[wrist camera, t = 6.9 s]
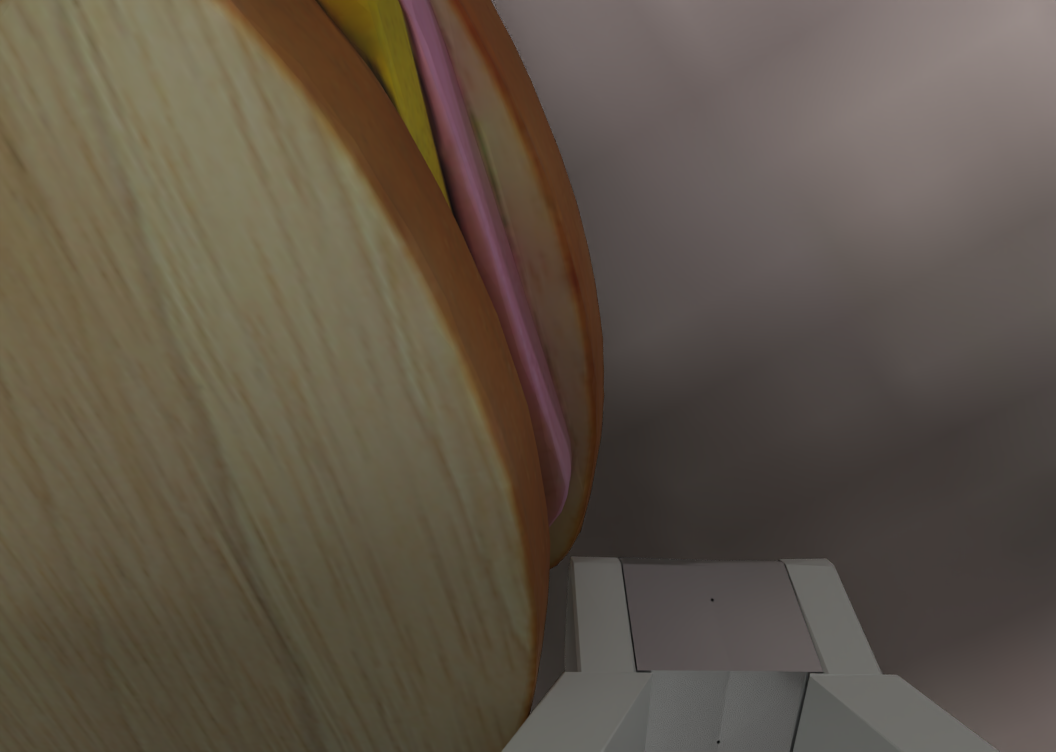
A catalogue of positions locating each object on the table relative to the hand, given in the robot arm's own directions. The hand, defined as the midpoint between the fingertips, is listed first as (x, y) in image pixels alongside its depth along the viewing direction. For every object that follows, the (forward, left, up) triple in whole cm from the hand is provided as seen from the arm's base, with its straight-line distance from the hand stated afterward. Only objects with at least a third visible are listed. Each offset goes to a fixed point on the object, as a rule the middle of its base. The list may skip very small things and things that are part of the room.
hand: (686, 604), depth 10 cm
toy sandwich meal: (+2, +8, -3) cm, 8 cm away
